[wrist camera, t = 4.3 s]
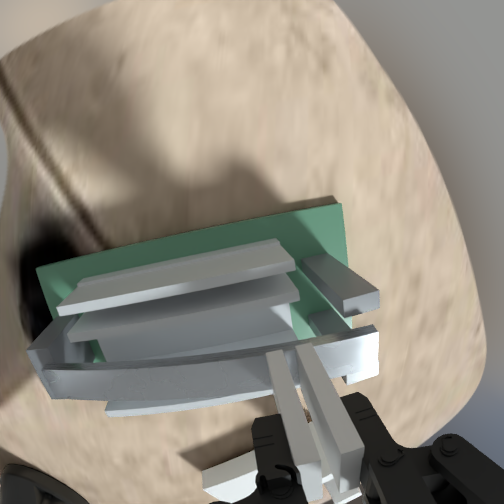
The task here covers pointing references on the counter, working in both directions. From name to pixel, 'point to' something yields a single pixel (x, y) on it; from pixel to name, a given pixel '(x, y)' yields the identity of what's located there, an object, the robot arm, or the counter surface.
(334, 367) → the strap
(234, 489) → the bracket
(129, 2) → the counter surface
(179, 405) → the heatsink board
